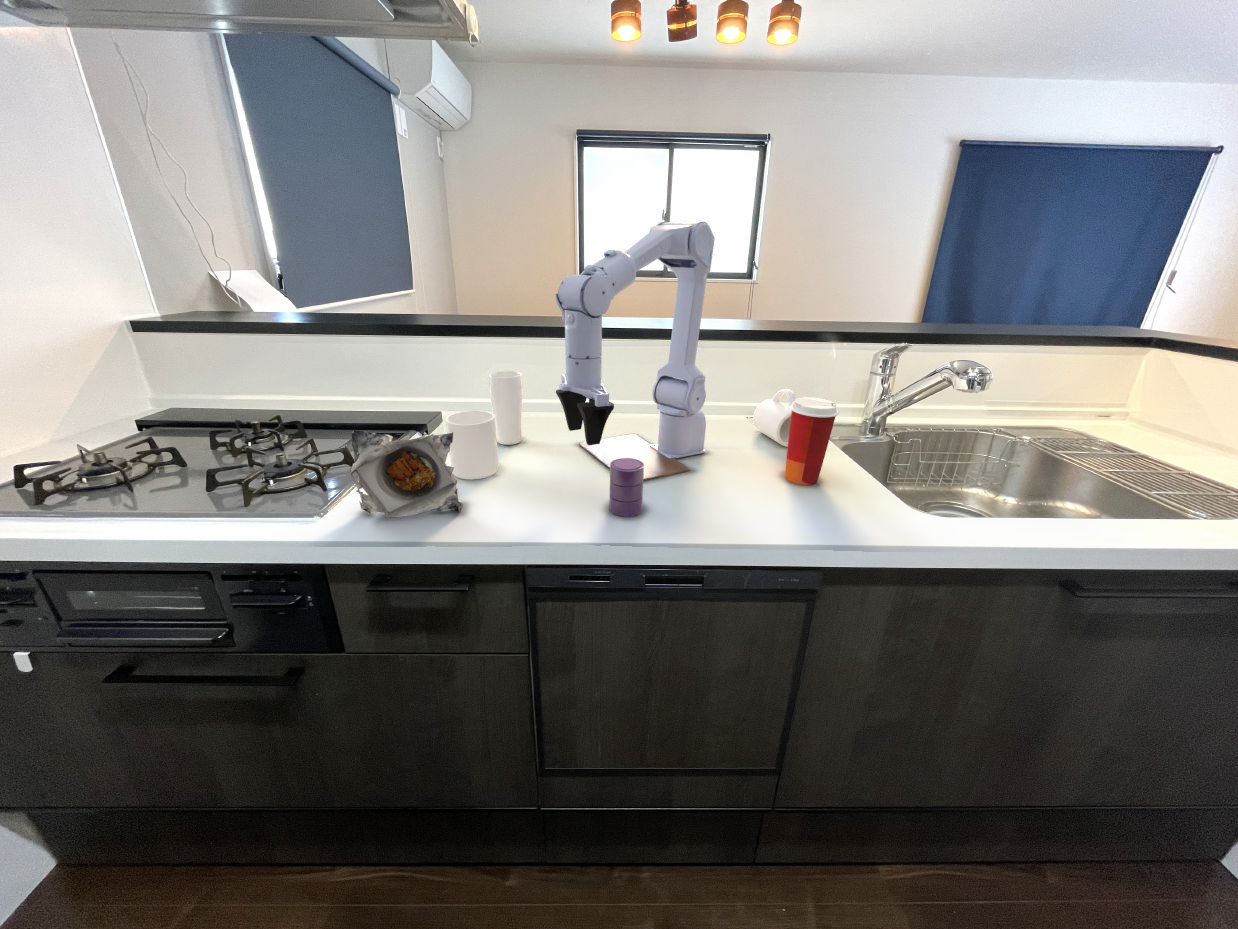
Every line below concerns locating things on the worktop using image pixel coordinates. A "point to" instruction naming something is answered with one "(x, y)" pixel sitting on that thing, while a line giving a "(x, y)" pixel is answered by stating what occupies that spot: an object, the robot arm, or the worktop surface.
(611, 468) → the dish top
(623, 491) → the dish middle
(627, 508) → the dish bottom
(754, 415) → the mug
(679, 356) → the robot arm
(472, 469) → the mug
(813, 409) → the coffee cup
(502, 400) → the drinking glass
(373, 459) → the meal
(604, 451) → the mat
